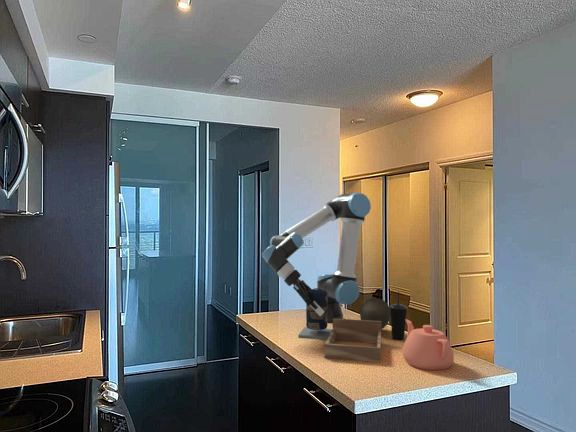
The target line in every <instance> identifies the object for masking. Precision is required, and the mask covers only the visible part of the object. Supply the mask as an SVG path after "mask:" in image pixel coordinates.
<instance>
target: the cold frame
mask: <svg viewBox="0 0 576 432" xmlns="http://www.w3.org/2000/svg"><path fill="white" fill-rule="evenodd" d="M331 329H332V331H331V333H330V335H329V337H328V339H326V341H325V343H324V352H323V353H324V356H323V357H324V359H332V360H333V359H335V360H343V361H345V360H346V361H357V362H358V361H359V362H372V363H381V356H382V329H381V321H369V320H361V319H349V318H343V319H335V318H333V322H332V328H331ZM335 342H351V343H353V342H354V343H362V344H363V343H365V344H376V346H368V345H366V346H365V345H353V344H352V345H351V344H339V343H335Z"/></svg>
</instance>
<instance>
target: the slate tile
mask: <svg viewBox="0 0 576 432" xmlns="http://www.w3.org/2000/svg"><path fill="white" fill-rule="evenodd" d="M332 329H333V328H326V329H323V330H312V329H309V328H307V327H303V328H302V330H301V331H300V332H299V333H298V336H297V337H298V338H301V339H303V338H304V339H305V338H306V339H320V340H321V339H322V340H327V339H328V337H329V335H330V333H331V331H332Z"/></svg>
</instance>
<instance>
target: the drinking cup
mask: <svg viewBox="0 0 576 432" xmlns="http://www.w3.org/2000/svg"><path fill="white" fill-rule="evenodd" d="M388 306H389V309H390V324H391V325H390V326H391V337H392V339H393V340H395V341H403V340H404V339H405V334H406V333H405V331H406V324H407V322H406V320H405V319H407V313H408V312H407V310H408V306H406V305H404V304H401V303H400V291H397V303H394V304H391V305H388Z"/></svg>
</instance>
